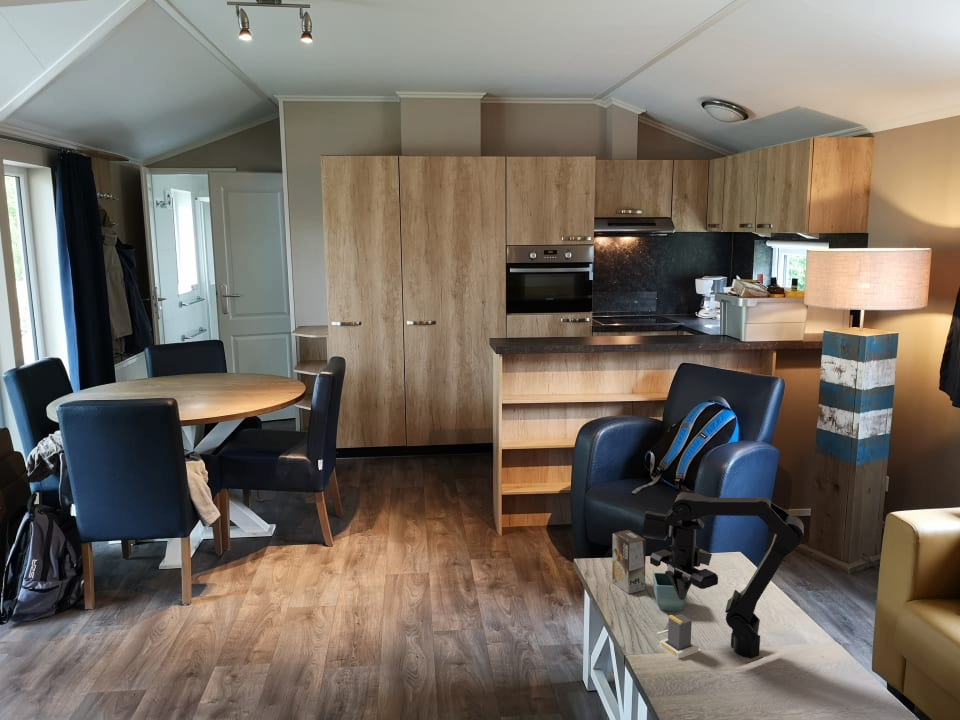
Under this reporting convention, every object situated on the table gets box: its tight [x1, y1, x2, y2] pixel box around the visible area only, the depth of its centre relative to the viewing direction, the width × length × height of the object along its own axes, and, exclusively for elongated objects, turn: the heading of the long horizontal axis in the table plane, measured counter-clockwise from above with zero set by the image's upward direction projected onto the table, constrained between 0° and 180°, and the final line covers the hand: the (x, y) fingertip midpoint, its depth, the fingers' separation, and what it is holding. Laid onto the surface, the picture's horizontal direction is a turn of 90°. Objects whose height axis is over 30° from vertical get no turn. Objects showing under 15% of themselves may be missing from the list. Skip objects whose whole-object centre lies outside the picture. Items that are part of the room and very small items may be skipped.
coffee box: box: [611, 529, 647, 595], centre depth 231 cm, size 9×6×16 cm
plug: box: [667, 613, 692, 651], centre depth 194 cm, size 4×4×9 cm
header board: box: [656, 629, 702, 659], centre depth 198 cm, size 13×11×2 cm
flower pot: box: [652, 572, 688, 612], centre depth 218 cm, size 9×9×9 cm
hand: (681, 599), depth 198 cm, fingers closed
